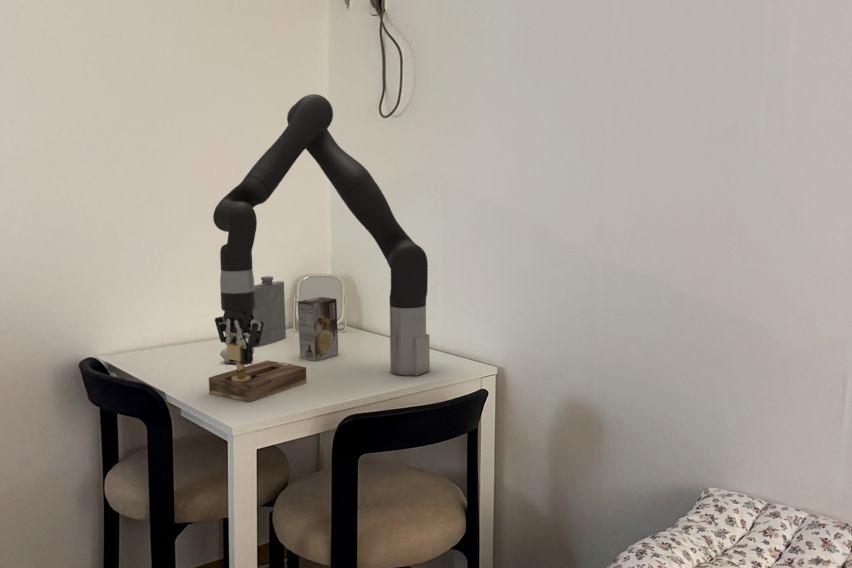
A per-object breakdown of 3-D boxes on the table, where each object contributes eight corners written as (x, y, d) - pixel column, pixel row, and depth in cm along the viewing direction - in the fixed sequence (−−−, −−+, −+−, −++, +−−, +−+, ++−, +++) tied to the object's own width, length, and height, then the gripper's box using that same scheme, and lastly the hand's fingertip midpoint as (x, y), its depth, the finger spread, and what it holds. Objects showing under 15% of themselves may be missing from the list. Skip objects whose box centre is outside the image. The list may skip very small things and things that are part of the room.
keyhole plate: (306, 382, 186) (306, 366, 186) (249, 402, 171) (248, 384, 170) (267, 374, 193) (267, 359, 193) (209, 393, 178) (208, 376, 177)
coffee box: (322, 352, 218) (321, 296, 215) (338, 355, 214) (337, 298, 211) (298, 358, 210) (297, 300, 208) (315, 361, 207) (313, 303, 204)
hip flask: (279, 336, 238) (277, 272, 235) (290, 337, 237) (288, 273, 234) (246, 347, 224) (243, 279, 221) (257, 348, 223) (254, 280, 220)
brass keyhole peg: (255, 380, 178) (253, 342, 176) (240, 385, 174) (239, 346, 173) (241, 377, 180) (240, 340, 179) (227, 382, 176) (225, 344, 175)
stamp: (216, 363, 205) (215, 332, 204) (230, 358, 211) (229, 328, 210) (245, 366, 202) (244, 335, 201) (258, 360, 208) (257, 330, 207)
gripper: (272, 289, 173) (274, 363, 176) (228, 284, 181) (231, 355, 183) (247, 294, 167) (250, 370, 170) (203, 288, 175) (206, 362, 177)
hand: (240, 362), depth 176 cm, fingers closed on brass keyhole peg, 4 cm apart
